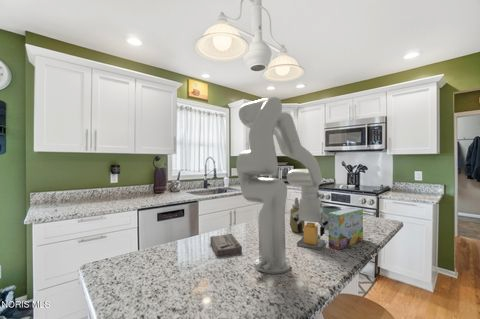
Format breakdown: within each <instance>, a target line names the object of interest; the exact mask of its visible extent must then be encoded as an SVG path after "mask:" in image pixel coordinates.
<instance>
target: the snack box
mask: <svg viewBox="0 0 480 319" xmlns="http://www.w3.org/2000/svg"><path fill="white" fill-rule="evenodd" d="M363 210H364V209H363V208H360V207H353V206H352V207H348V208H344V209H341V210H339V211H335V212H331V213H329V217H330V220H329V230H328V247H329V248H331V249H335V250H338V251H339V250H342V249H344V248H347V247H349V246H353V245H354V244H357V243H359V242H361V241H363V240H364V223H363V222H364V218H363V216H364V213H363Z"/></svg>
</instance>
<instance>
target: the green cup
mask: <svg viewBox="0 0 480 319" xmlns="http://www.w3.org/2000/svg"><path fill="white" fill-rule="evenodd" d="M322 210H323V213H324V214H326V215H328V216H329V213H331V212H335V211H339V210H342V207H340V206H336V205H322ZM322 221H323V222H325V221H326V218H325V217H323V220H322ZM324 227H325V230H327V231H329V223H328V224H327V225H325V226H324Z"/></svg>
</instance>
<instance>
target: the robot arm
mask: <svg viewBox="0 0 480 319" xmlns="http://www.w3.org/2000/svg"><path fill="white" fill-rule="evenodd" d="M282 111H283V103H282V101H281V99H280V98H279V97H276V96H268V97H264V98H261V99H258V100H254V101H250V102H247V103H244V104H243V105H241V107H240V108H239V111H238V118H239V120H240V122H241V123H242V124H243V126H245V127H247V128H248V129H249V131H248V132H249V133H248V144H249V149H248V150H247V149H246V150H244V151H241V152H240V153H239V154H238V155H237V157H236V163H235V165H236V168H235V169H236V173H237V177H238V181H239V186H240V190H241V194H242V196H243V198H244V199H245V200H246V201H247V202H251V203H256V204H262V207H261V209H260V210H259V213H258V215H257V216H258V218H257V222H258V258H257V259H255V261H254V269H255V270H257V271H259V272H263V273H266V274H271V275H277V274H283V273H286V272H288V271H289V270H290V269H291V263H290V261H289V260H288V259H286V258H287V257H286V256H287V255H286V250H287V249H286V218H285V216H286V215H285V214H286V203H287V196H288V186H287V185H286V182H284V181H283V180H282V179H279V178H277V177H258V176H272V175H274V174H275V173H277V171H278V165H279V164H278V157H277V150H276V146H275V140H274V136H275V139H276V142H277V144H278V146H279V149H280V152H281V154H282V155H283V156H286V157H288V158H290V159H293V160H294V161H295V160H296V161H297V162H300V163H301V164H303V165H304V166H305V168H294V169H291V170H290V171H289V170H288V173H287V175H286V180H287V183H288V184H290V185H291V186H293V187H300V190H301V191H300V192H301V194H300V195H301V198H299V201H298V202H299V211H297V212H294V213H292V216H293V218H294V220H295V221H296V223H297V224H298V231H299V232H298V234H301V233H302V232H303V231H302V223H301V221H304V222H308V223H309V222H311V223H318V224H319V226H320V227H319V237H323V236H324V235H325V233H326V232H325V230H326V229H325V227H324V226H325V225H327V224H328V223H329V220H330V217H329V216H328V215H326V214H324V213H323V210H322V206H323V204H322V200H321V198H322V197H323V194H322V193H320V192H319V186H320V185H321V183H322V178H323V176H322V171H321V168H320V165H319V162H318V160H317V158H316V157H315V156H314V155H313V153H311V152H310V151H309V150H308V149H306V148H305V147H304V146H303V145H302V143H301V141H300V138H299V134H298V131H297V127H296V125H295V122H294V118H293V117H292V116H293V115H291V113H289V112H284V111H283V112H282ZM297 214H299V219H298V218H297V217H296V215H297ZM323 217H325V218H326V221H325V222H323Z"/></svg>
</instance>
